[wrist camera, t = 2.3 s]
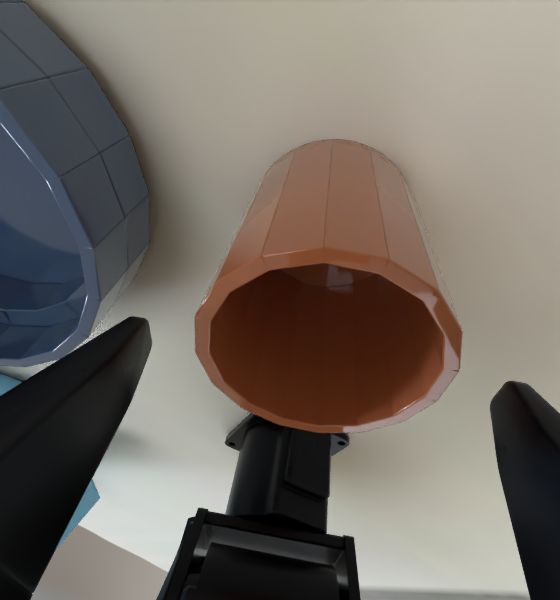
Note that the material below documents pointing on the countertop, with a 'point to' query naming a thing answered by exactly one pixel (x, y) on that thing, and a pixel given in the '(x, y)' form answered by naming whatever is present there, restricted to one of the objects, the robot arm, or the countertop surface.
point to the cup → (330, 298)
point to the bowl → (60, 196)
